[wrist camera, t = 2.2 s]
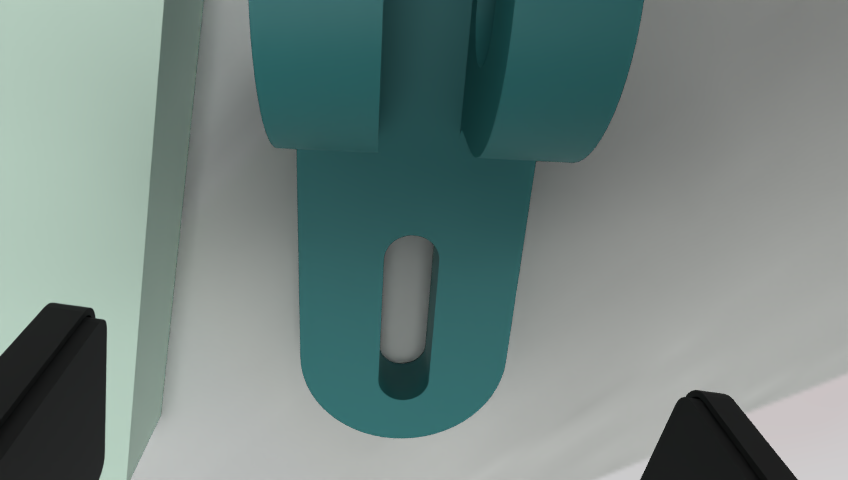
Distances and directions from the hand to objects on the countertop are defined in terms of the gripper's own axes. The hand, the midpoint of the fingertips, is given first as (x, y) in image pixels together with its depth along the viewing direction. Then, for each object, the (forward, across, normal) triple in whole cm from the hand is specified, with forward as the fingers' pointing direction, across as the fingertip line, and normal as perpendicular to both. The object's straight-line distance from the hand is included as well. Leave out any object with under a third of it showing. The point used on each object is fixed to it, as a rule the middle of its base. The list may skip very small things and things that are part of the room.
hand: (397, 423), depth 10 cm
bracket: (+12, -1, -1) cm, 12 cm away
